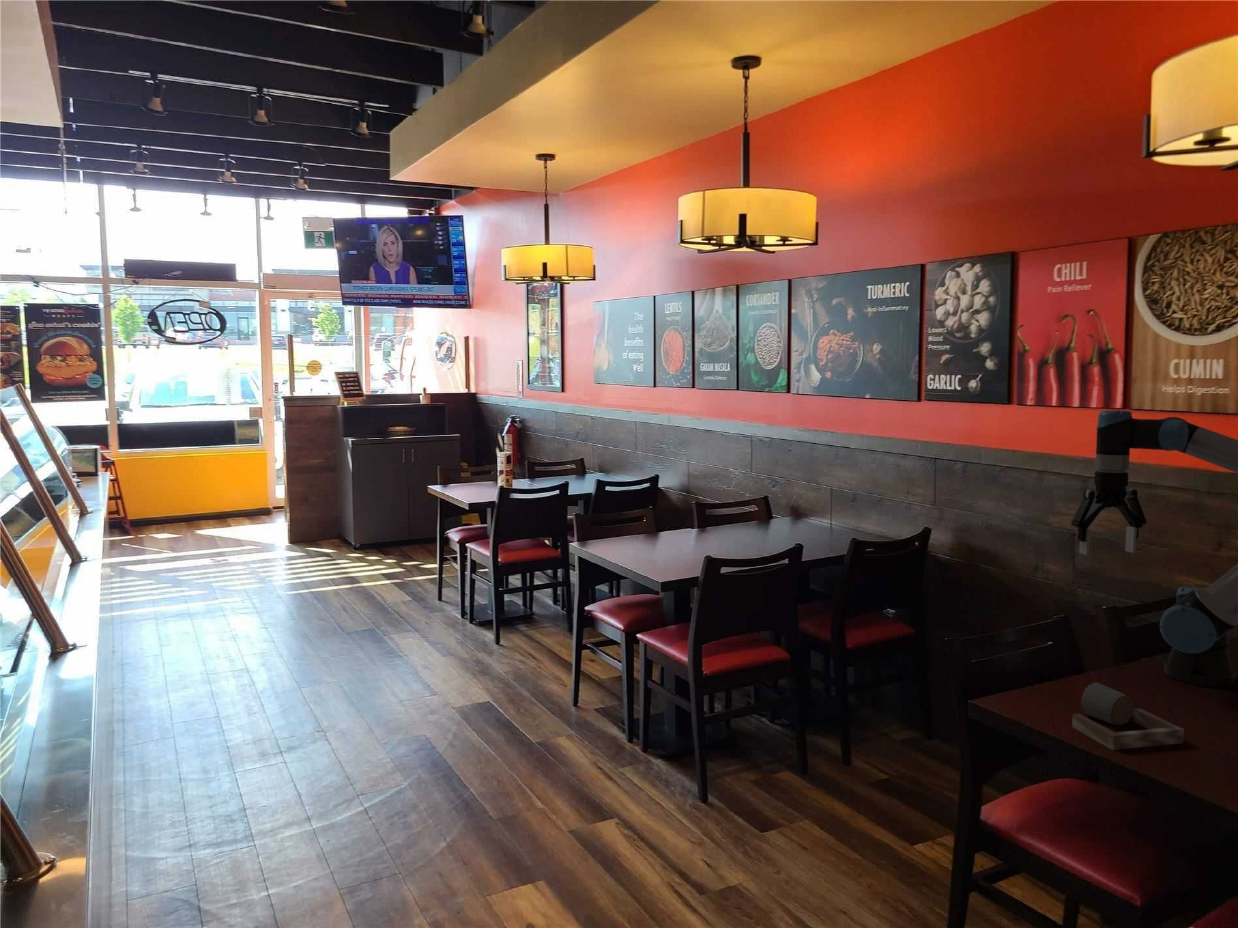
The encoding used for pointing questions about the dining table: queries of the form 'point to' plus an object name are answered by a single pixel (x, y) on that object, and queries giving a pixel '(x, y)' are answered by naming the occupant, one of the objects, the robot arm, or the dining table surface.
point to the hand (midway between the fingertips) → (1107, 553)
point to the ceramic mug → (1107, 704)
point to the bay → (1132, 732)
